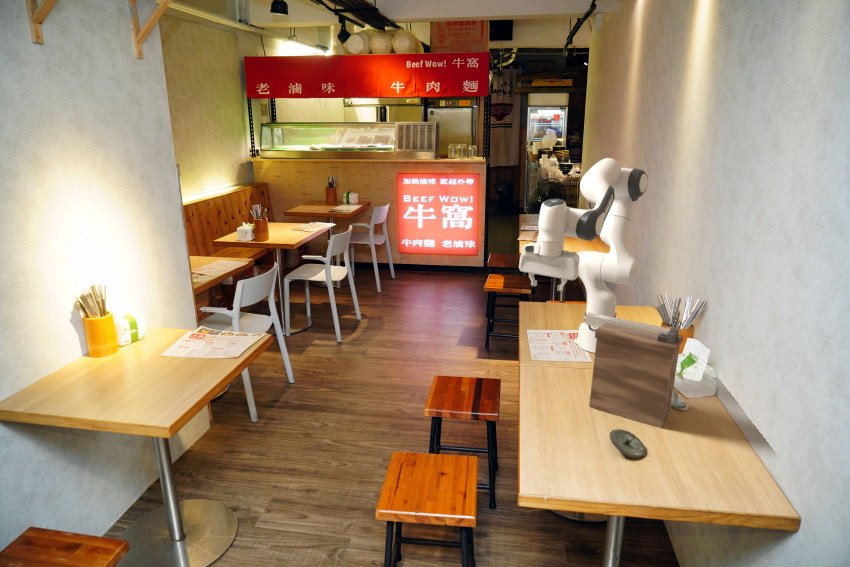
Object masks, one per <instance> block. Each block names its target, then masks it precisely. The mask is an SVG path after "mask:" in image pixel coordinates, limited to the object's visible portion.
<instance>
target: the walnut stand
mask: <svg viewBox="0 0 850 567" xmlns="http://www.w3.org/2000/svg"><path fill="white" fill-rule="evenodd" d="M669 329H670V331H669V332H668V334H667V337H664V336H658V339H655V338H650V337H645V336H641V335H636V334H631V333H626V332H622V331H617V330H612V329H607V328H603V327H600V328H599V329H598V330H597V331H596V332H595V338H597V341H596V350H595V353H594V358H593V361H594V362H593V368H592V377H591V378H592V380H591V387H590V395H589V404H588V408H589V407H591V408H590V409H593V408H594V410H596V409H597V411H600V410H601V411H600V412H603V411H604V412H603V413H606V412H607V414H610V413H611V414H610V415H613V414H614V416H618V417H620V416H621V418H624V419H626V420H631V421H635V422H638V423H642V424H645V425H649V426H652V427H655V426H656V427H655V428H658V427H659V429H662V427H663V425H664V424H663V423H665V422H666V420H667V418H668V416H669V414H670V410H671V407H672V405H671V400H673V399H672V394H673V390H674V385H675V379H676V371H677V367H678V366H677V365H678V360H679V353H680V347H681V345H682V343H683V341H684V335H682V334H680V327H674V326H672V327H671V328H669ZM665 419H666V420H665Z"/></svg>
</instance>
